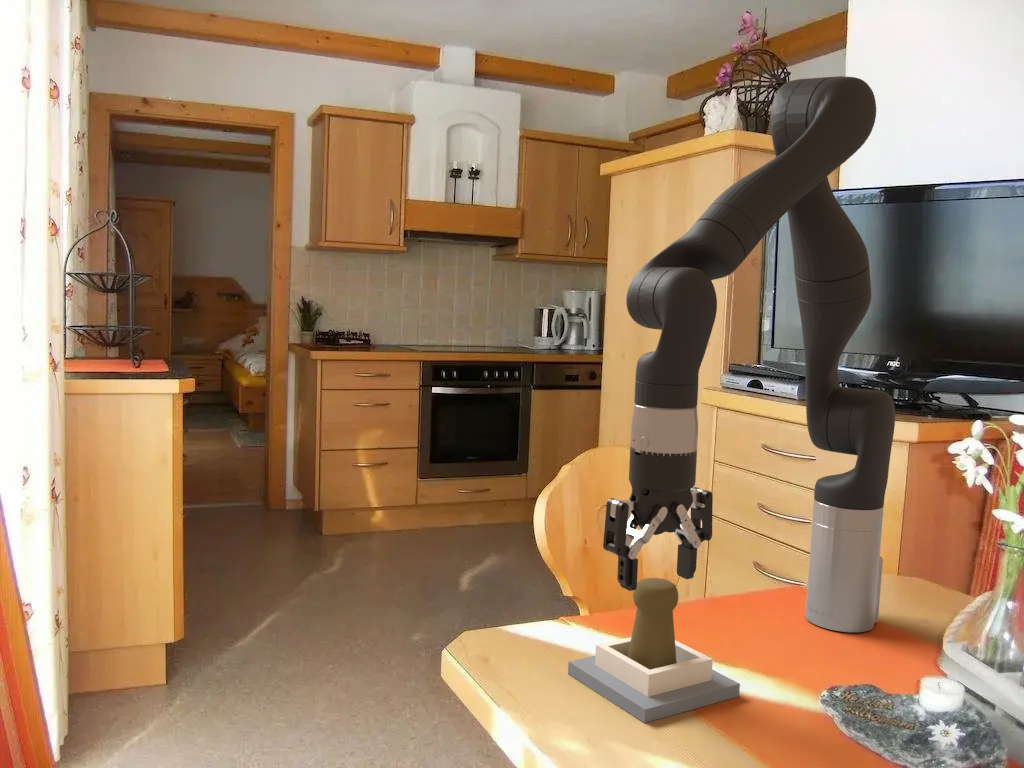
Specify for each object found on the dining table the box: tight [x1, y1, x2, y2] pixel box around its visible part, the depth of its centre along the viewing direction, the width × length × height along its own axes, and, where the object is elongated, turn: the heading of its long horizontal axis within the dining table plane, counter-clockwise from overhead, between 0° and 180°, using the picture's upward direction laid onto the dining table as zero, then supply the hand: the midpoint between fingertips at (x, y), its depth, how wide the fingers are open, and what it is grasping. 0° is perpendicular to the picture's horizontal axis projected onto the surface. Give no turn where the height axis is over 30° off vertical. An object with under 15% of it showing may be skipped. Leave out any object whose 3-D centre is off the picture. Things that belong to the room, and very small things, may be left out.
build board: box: [567, 636, 741, 724], centre depth 108 cm, size 14×14×4 cm
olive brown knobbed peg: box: [628, 577, 680, 670], centre depth 107 cm, size 6×6×11 cm
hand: (656, 582), depth 107 cm, fingers open, 8 cm apart
